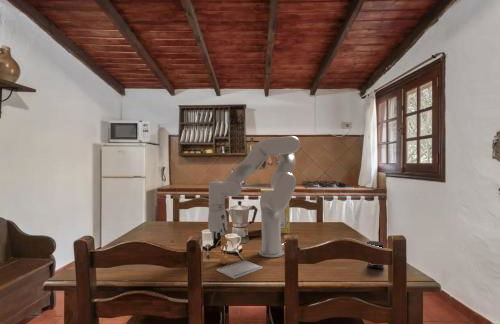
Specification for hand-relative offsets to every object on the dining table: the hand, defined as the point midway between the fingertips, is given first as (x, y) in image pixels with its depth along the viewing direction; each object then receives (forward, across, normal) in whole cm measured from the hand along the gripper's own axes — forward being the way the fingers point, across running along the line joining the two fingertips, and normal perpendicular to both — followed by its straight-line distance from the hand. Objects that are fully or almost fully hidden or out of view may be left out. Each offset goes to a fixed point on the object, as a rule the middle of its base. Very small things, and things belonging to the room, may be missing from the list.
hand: (217, 245), depth 134 cm
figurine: (+7, -5, 0) cm, 9 cm away
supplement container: (+7, -55, -45) cm, 71 cm away
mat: (+7, -16, 0) cm, 18 cm away
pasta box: (+7, +19, -60) cm, 63 cm away
